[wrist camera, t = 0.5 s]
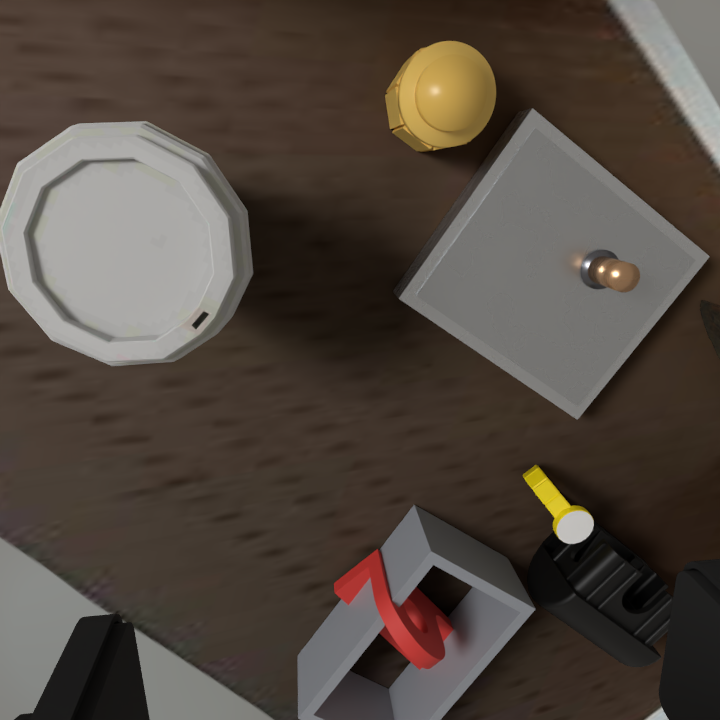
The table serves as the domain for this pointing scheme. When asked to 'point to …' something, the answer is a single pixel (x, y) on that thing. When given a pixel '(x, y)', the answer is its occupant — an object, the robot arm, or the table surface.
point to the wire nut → (441, 96)
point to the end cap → (603, 594)
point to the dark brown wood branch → (712, 323)
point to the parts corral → (404, 572)
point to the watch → (560, 509)
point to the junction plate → (550, 265)
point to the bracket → (400, 614)
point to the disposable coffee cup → (125, 242)
